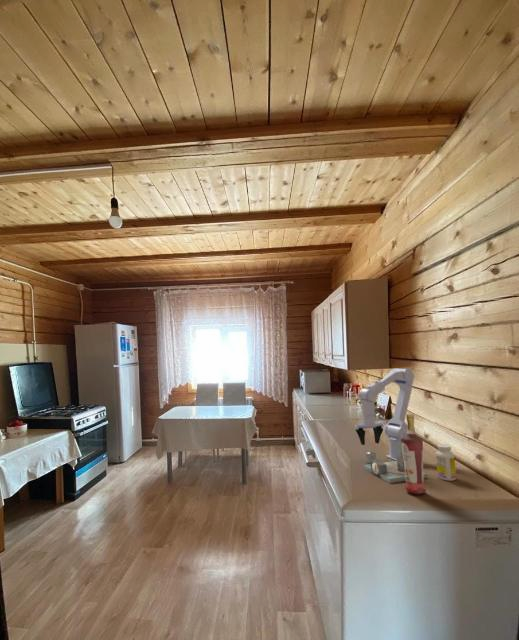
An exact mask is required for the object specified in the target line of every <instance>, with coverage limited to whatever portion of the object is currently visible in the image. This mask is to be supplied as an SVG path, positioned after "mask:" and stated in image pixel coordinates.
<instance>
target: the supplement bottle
mask: <svg viewBox="0 0 519 640" xmlns="http://www.w3.org/2000/svg"><path fill="white" fill-rule="evenodd" d="M451 447H452V446H450V445H449V444H445V443H444V444H441V443H440V444H438V445H437V449H438V450H437V451H436V452H435V459H436V470H437V477H438V478H439V479H440V480H443V481H448V482H450V481H456V480H457V472H456V471H457V470H456V461H455V455H454V453H453V452H452V451H451V450H452V448H451Z"/></svg>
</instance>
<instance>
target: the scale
mask: <svg viewBox="0 0 519 640" xmlns="http://www.w3.org/2000/svg"><path fill="white" fill-rule="evenodd" d="M370 461H371V464H363V469H364V470H366V471H367V472H368V473H371V474H372V473H373V475H374V474H375V475H374V476H376V477H378V478H380V479H381V480H383V481H385V482H387V483H389V484H393V483H400V482H406V477H405V472H400V471H398V470H397V461H395V460H393V461H387V462H386V461H385V462H384V461H381V460H379V459H376V460H370ZM423 478H424V479H427V478H428V473H426V472H424V471H423Z"/></svg>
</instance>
